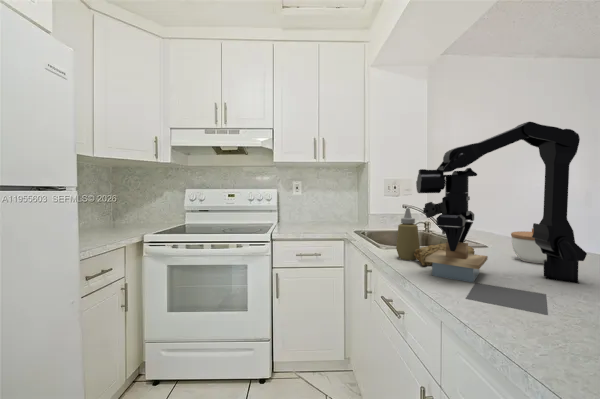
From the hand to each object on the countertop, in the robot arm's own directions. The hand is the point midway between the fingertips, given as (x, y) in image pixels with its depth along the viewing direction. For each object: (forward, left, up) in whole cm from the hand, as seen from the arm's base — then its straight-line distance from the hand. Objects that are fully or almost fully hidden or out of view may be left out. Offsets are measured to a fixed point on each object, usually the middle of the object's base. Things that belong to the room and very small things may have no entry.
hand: (456, 248), depth 83 cm
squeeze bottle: (+18, -13, -8) cm, 24 cm away
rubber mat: (-12, +12, -8) cm, 19 cm away
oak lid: (0, 0, -4) cm, 4 cm away
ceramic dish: (0, 0, -8) cm, 8 cm away
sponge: (+6, -15, -8) cm, 18 cm away
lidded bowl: (-17, -35, -8) cm, 40 cm away
